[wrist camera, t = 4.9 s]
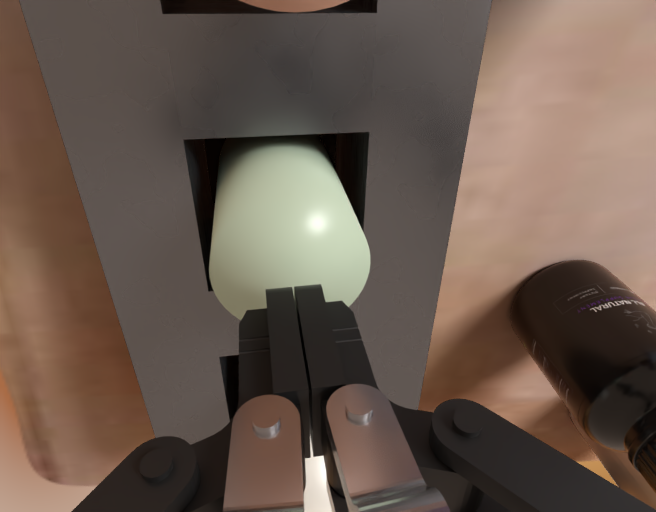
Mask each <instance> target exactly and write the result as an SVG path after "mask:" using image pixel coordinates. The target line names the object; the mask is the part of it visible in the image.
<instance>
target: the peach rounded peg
mask: <svg viewBox="0 0 656 512" xmlns="http://www.w3.org/2000/svg"><path fill="white" fill-rule="evenodd" d="M239 1H242V2H245V3H247V4H250V5H253V6H255V7H259V8H264V9H268V10H273V11H281V12H295V13H296V12H309V11H317V10H321V9H326V8H330V7H334V6H337V5H339V4H342V3H344V2H347V1H350V0H239Z"/></svg>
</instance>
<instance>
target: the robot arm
mask: <svg viewBox="0 0 656 512" xmlns="http://www.w3.org/2000/svg"><path fill="white" fill-rule="evenodd" d="M265 290H266V304H267V308H264V309H253V310H247V311H246V313H245V314H244V316H243V318H242V320H241V321H240V323H239V402H238V408H237V411H236V413H235V415H234V417H233V418H232V420H231V421H230V422H229V423H228V424H227V425H226V426H225V427H224V428H223V429H222V430H220V431H219V432H217V433H216V434H214V435H212V436H210V437H208V438H205V439H203V440H201V441H198V442H196V443H194V444H191V445H190V444H189V443H188V442H187V441H185V440H183V439H181V438H179V437H174V436H163V437H158V438H154V439H152V440H149V441H147V442H145V443H143V444H142V445H140V446H139V447H137V448H136V449H135V450H134V451H133V452H131V453H130V454H129V455H128V456H127V457H126V458H125V459H124V460H123V461H122V462H121V463H120V464H119V465H118V466H117V467H116V468H115V469H114V470H113V471H112V472H111V473H110V474H109V475H108V476H107V477H106V478H105V479H104V480H103V481H102V482H101V483H100V484H99V485H98V486H97V487H96V488H95V489H94V490H93V491H92V492H91V493H90V494H89V495H88V496H87V497H86V498H85V499H84V500H83V501H82V502H81V503H80V504H79V505H78V506H77V507H76V508H75V509H74V510H73V511H72V512H304V491H305V487H306V468H305V458H311V451H310V436H311V443H312V450H313V457H317V456H324V462H325V468H326V487H327V493H328V497H329V501H330V505H331V509H332V512H656V493H655V492H654V491H653V489H652V488H651V487H650V485H649V484H648V483H647V481H646V480H645V479H644V477H643V476H642V475H641V473H639V472H638V471H637V470H636V469H635V468H634V467H633V465H632V464H631V462H630V461H629V459H628V453H622V452H617V451H613V450H610V449H607V448H605V447H603V446H601V445H599V444H597V443H596V442H594V441H593V440H592V439H591V438H589V437H588V436H587V434H586V433H585V432H584V430H583V429H582V428H581V426H580V425H579V424H578V422H577V421H576V419H575V418H574V417H573V415H572V414H571V412H570V416H571V420H572V422H573V423H574V425H575V426H576V428H577V429H578V430H579V432H580V433H581V435H582V436H583V437H584V439H585V440H586V442H587V443H588V444H589V446H590V447H591V449H592V450H593V451H594V453H595V454H596V456H597V457H598V458H599V460H600V461H601V463H602V464H603V466H604V467H605V468H606V470H607V471H608V473H609V474H610V475H611V477H612V478H613V480H614V481H615V482H616V484H617V485H618V487H617V486H615V485H614V484H612V483H610V482H609V481H607V480H605V479H604V478H602V477H600V476H599V475H597V474H595V473H594V472H592V471H590V470H589V469H587V468H585V467H584V466H582V465H580V464H579V463H577V462H575V461H574V460H572V459H570V458H569V457H567V456H565V455H564V454H562V453H560V452H559V451H557V450H555V449H554V448H552V447H550V446H549V445H547V444H545V443H544V442H542V441H540V440H539V439H537V438H535V437H534V436H532V435H530V434H529V433H527V432H525V431H524V430H522V429H520V428H519V427H517V426H515V425H514V424H512V423H510V422H509V421H507V420H505V419H504V418H502V417H500V416H499V415H497V414H495V413H494V412H492V411H490V410H489V409H487V408H485V407H484V406H482V405H480V404H478V403H476V402H473V401H470V400H466V399H452V400H448V401H445V402H443V403H441V404H440V405H439V406H438V407H437V408H436V409H435V411H434V413H433V412H427V411H420V410H414V409H408V408H405V407H402V406H399V405H397V404H395V403H393V402H392V401H390V400H389V399H388V398H387V397H386V396H385V395H384V394H383V393H382V392H381V391H380V390H379V388H378V386H377V384H376V381H375V378H374V375H373V372H372V368H371V365H370V362H369V359H368V356H367V353H366V350H365V347H364V344H363V341H362V337H361V334H360V331H359V329H358V325H357V322H356V319H355V316H354V312H353V311H352V310H351V309H350V308H349V307H348V306H347V305H346V304H345V303H344V302H343V301H333V302H326V301H325V297H324V293H323V289H322V286H321V284H315V285H304V286H294V295H293V289H292V287H284V288H273V289H265Z"/></svg>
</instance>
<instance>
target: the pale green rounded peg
mask: <svg viewBox="0 0 656 512" xmlns="http://www.w3.org/2000/svg"><path fill="white" fill-rule="evenodd" d="M369 270H370V250H369V246H368V243H367V240H366V237H365V235H364V233H363V231H362V228H361V226H360V224H359V222H358V219H357V217H356V215H355V213H354V211H353V208H352V206H351V204H350V202H349V200H348V197H347V195H346V193H345V191H344V188H343V186H342V184H341V182H340V180H339V177H338V175H337V173H336V171H335V168H334V166H333V164H332V162H331V160H330V157H329V155H328V153H327V151H326V149H325V146H324V144H323V142H322V140H321V139H320V137H319V136H318V134H305V135H281V136H257V137H233V138H227V139H226V140H225V142H224V144H223V147H222V149H221V152H220V157H219V167H218V177H217V188H216V199H215V209H214V220H213V231H212V241H211V252H210V263H209V275H210V281H211V285H212V288H213V290H214V293H215V295H216V297H217V298H218V300H219V301H220V303H221V304H222V305H223V306H224V307H225V309H226V310H228V311H229V312H230V313H231V314H232V315H233V316H235V317H236V318H238V319H239V320H242V318H243V316H244V314H245V313H246V311H247V310H253V309H264V308H267V304H266V290H265V289H273V288H284V287H292V289H293V295H294V286H304V285H315V284H321V286H322V289H323V293H324V297H325V301H326V302H333V301H343V302H344V303H345V304H346V305H347V306H348V307H349V306H350V305H351V304H352V303H353V302H354V301H355V300H356V298H357V297H358V296H359V294H360V293H361V291H362V290H363V288H364V285H365V283H366V281H367V278H368V275H369Z"/></svg>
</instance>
